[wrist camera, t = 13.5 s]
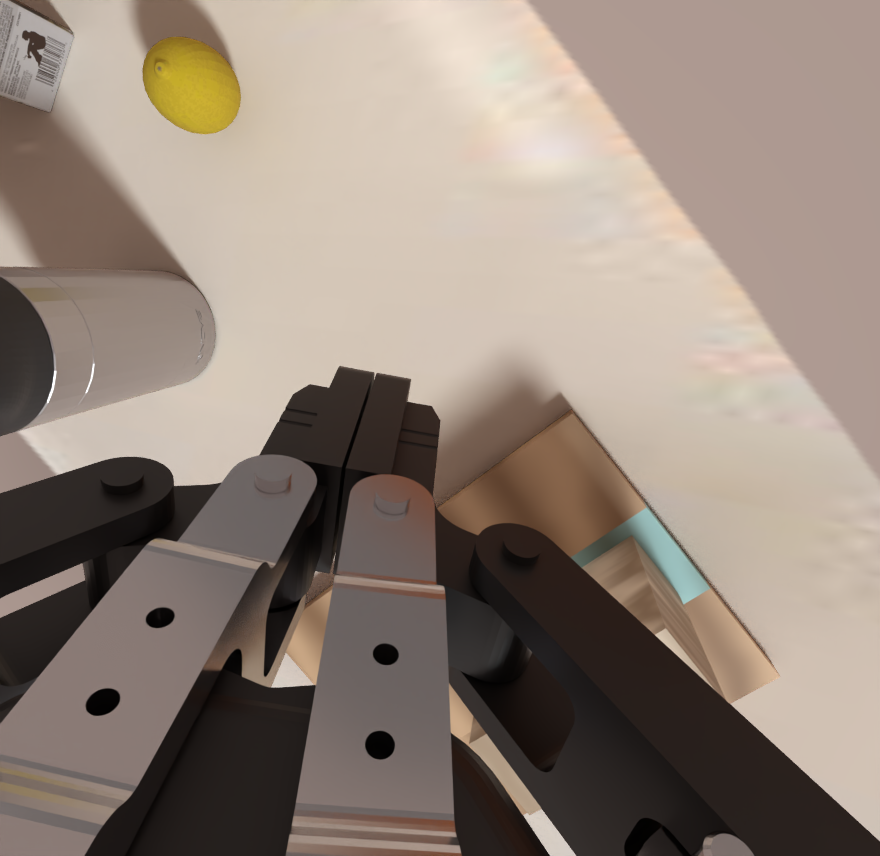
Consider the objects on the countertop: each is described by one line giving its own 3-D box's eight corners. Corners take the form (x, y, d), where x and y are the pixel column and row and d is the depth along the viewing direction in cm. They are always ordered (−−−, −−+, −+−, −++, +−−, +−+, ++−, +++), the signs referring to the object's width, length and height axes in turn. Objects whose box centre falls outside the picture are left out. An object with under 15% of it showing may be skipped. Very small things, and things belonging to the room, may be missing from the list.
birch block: (531, 683, 51) (529, 814, 38) (486, 629, 50) (468, 744, 38) (679, 595, 47) (729, 708, 35) (631, 535, 47) (665, 628, 34)
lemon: (174, 102, 46) (100, 67, 38) (222, 44, 45) (156, -5, 37) (224, 161, 46) (162, 137, 39) (274, 105, 45) (219, 68, 37)
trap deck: (460, 835, 57) (458, 849, 56) (277, 625, 55) (270, 634, 54) (773, 664, 49) (780, 676, 47) (571, 409, 47) (572, 413, 45)
